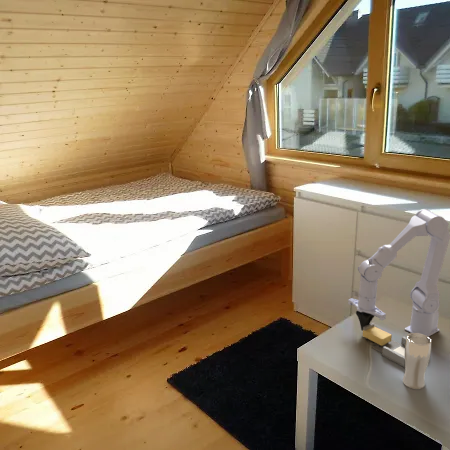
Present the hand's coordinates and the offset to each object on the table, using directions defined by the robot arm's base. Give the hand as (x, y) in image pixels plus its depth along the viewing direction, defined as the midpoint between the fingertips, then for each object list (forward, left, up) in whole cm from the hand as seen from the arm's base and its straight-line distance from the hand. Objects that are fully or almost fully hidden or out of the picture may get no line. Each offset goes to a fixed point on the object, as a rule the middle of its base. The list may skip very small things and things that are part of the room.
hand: (364, 329), depth 163 cm
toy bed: (0, +5, -2) cm, 6 cm away
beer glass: (+10, +26, -2) cm, 28 cm away
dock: (0, +14, -2) cm, 14 cm away
